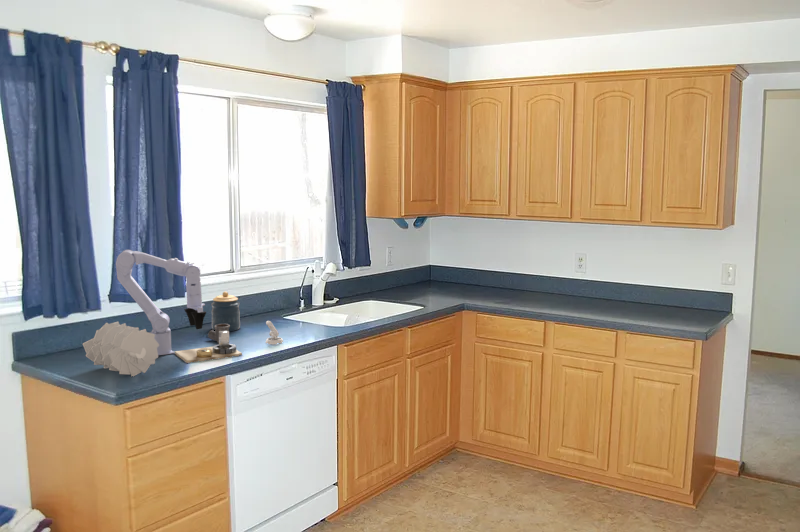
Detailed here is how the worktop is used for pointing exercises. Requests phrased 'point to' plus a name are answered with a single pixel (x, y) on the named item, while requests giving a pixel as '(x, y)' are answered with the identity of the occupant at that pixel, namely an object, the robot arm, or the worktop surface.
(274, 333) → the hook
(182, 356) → the fitting board
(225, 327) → the pipe
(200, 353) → the plug small
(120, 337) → the spiral staircase
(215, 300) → the canister
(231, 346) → the socket large
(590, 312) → the worktop surface
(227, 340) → the pipe stub
